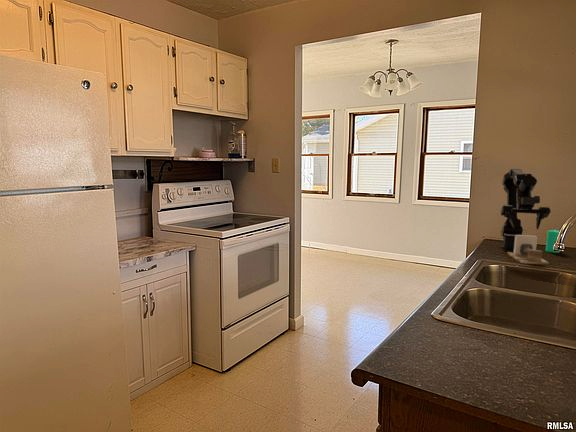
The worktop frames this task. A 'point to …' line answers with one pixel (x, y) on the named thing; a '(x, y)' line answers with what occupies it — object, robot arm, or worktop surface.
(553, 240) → the candle
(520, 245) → the sleeve
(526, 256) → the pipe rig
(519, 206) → the robot arm
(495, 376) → the worktop surface
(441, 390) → the worktop surface
